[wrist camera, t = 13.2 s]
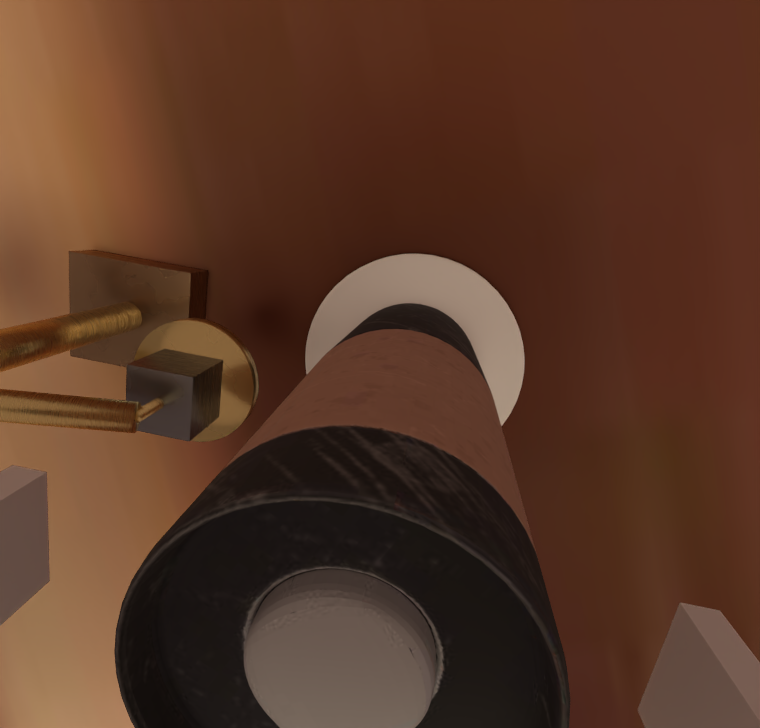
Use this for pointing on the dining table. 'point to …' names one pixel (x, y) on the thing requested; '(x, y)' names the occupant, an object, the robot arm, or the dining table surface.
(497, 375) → the cream round disc
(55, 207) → the dining table surface
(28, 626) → the dining table surface
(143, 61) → the dining table surface
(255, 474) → the travel mug
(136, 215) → the dining table surface
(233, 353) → the balance
